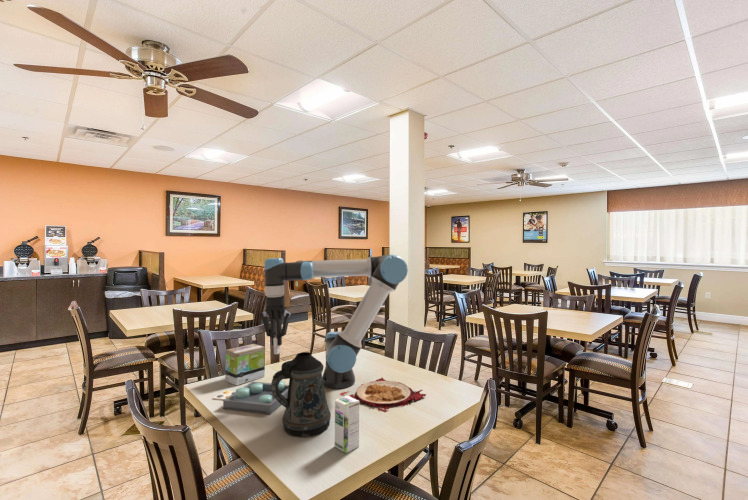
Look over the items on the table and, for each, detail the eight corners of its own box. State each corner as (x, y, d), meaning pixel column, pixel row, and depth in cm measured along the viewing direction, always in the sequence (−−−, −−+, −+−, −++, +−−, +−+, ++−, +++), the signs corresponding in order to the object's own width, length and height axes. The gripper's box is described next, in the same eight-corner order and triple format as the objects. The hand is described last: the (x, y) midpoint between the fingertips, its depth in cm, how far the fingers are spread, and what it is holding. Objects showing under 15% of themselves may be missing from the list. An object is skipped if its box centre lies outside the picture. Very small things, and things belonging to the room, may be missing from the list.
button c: (265, 389, 152) (265, 383, 152) (258, 394, 148) (258, 388, 148) (254, 388, 154) (254, 382, 154) (247, 393, 149) (247, 387, 149)
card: (241, 393, 152) (241, 391, 152) (230, 400, 144) (230, 399, 144) (225, 391, 154) (225, 389, 154) (212, 398, 146) (212, 397, 146)
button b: (274, 401, 140) (274, 395, 140) (268, 407, 135) (268, 400, 135) (263, 400, 142) (263, 394, 142) (256, 405, 137) (256, 399, 137)
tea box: (237, 386, 160) (236, 353, 160) (224, 381, 166) (224, 349, 166) (265, 376, 172) (265, 346, 172) (253, 372, 178) (253, 342, 178)
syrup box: (333, 446, 111) (333, 399, 111) (348, 439, 115) (348, 394, 115) (345, 454, 107) (345, 405, 107) (360, 446, 111) (360, 399, 111)
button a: (286, 387, 150) (286, 381, 150) (280, 391, 145) (280, 385, 145) (275, 386, 151) (275, 380, 151) (269, 390, 146) (269, 384, 146)
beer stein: (340, 421, 127) (340, 351, 127) (303, 447, 110) (302, 366, 110) (304, 410, 136) (304, 344, 135) (265, 433, 119) (265, 358, 119)
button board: (294, 393, 152) (294, 385, 152) (270, 414, 132) (270, 405, 132) (252, 389, 157) (252, 381, 157) (223, 408, 137) (223, 400, 137)
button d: (251, 394, 143) (251, 388, 143) (244, 399, 138) (244, 393, 138) (240, 393, 144) (240, 387, 144) (233, 398, 139) (233, 391, 139)
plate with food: (382, 381, 168) (381, 374, 168) (426, 397, 148) (426, 389, 148) (339, 397, 151) (339, 388, 151) (383, 417, 131) (382, 407, 131)
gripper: (293, 294, 149) (295, 350, 149) (264, 294, 151) (266, 350, 151) (286, 297, 142) (288, 356, 142) (255, 297, 144) (257, 355, 144)
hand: (277, 353), depth 147 cm, fingers closed
